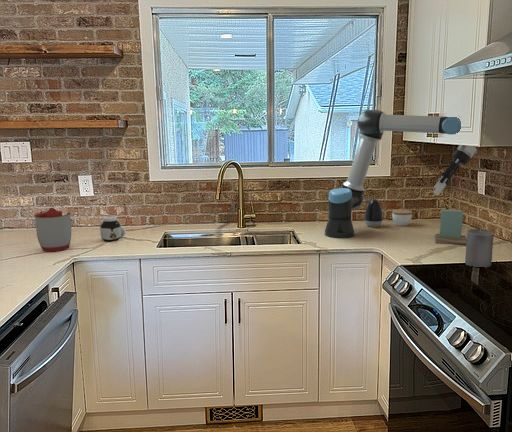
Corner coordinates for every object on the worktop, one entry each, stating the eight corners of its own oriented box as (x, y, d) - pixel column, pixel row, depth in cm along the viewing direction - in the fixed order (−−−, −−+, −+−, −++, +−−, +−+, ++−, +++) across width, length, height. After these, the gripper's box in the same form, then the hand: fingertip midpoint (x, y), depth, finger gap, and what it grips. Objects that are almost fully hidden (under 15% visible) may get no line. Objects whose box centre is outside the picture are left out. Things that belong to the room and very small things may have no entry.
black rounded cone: (370, 223, 273) (371, 197, 270) (386, 225, 265) (387, 199, 262) (360, 225, 266) (360, 199, 263) (375, 228, 258) (376, 201, 256)
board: (435, 234, 243) (435, 233, 243) (465, 236, 238) (465, 235, 238) (435, 243, 226) (435, 241, 226) (467, 245, 222) (467, 244, 222)
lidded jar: (406, 222, 274) (407, 206, 272) (414, 226, 263) (415, 209, 261) (388, 223, 272) (389, 207, 270) (396, 227, 262) (397, 210, 260)
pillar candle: (473, 259, 198) (476, 224, 196) (496, 265, 191) (499, 228, 188) (459, 264, 193) (462, 228, 190) (482, 270, 185) (485, 232, 182)
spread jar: (100, 242, 236) (98, 219, 234) (102, 237, 247) (101, 215, 245) (125, 240, 239) (123, 218, 236) (126, 235, 249) (125, 214, 247)
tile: (439, 234, 240) (441, 209, 238) (461, 236, 237) (462, 210, 234) (439, 235, 238) (441, 210, 236) (461, 237, 235) (463, 211, 232)
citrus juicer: (83, 246, 229) (80, 205, 225) (52, 255, 214) (47, 211, 210) (62, 242, 236) (58, 203, 233) (30, 250, 222) (26, 208, 218)
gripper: (473, 151, 206) (444, 191, 208) (468, 163, 229) (442, 200, 231) (458, 142, 208) (429, 182, 210) (454, 155, 231) (428, 191, 234)
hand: (435, 191), depth 221 cm, fingers open, 13 cm apart
